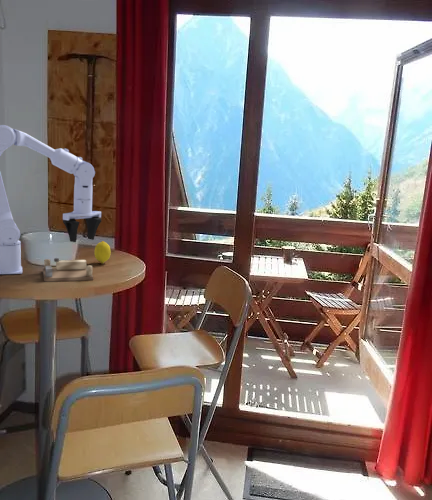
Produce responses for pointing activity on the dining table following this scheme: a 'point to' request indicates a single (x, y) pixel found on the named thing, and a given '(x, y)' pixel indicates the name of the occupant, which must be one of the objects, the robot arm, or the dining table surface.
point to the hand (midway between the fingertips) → (82, 240)
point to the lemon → (102, 252)
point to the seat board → (66, 273)
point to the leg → (70, 264)
